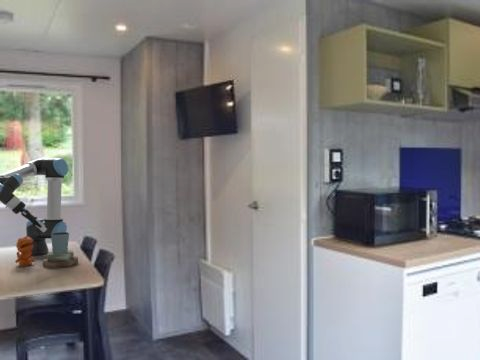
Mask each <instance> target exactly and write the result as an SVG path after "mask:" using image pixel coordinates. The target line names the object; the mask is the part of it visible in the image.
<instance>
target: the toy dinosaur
mask: <svg viewBox="0 0 480 360" xmlns="http://www.w3.org/2000/svg"><path fill="white" fill-rule="evenodd" d="M29 237H30V236H29ZM29 237H27V235H25V236H24V237H20V238H18V239H17V242H16V246H15V248H16V250H17V252H16V260H14V262H15V263H16V264H18V265H19V266H20V267H28V266H30V265H32V264H33V263H34V262H35V258H34V257H33V256H32V255H31V254H32V253H31V250H32V249H33V247H34V246H33V245H28V244H29V243H32V242H33V240H32V239H31V238H29Z"/></svg>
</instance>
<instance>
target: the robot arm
mask: <svg viewBox="0 0 480 360" xmlns="http://www.w3.org/2000/svg"><path fill="white" fill-rule="evenodd" d="M68 171H69V165H68V163H67V161H66V160H65V159H64V158H60V157H41V158H37V159H34V160H31V161H29V162H26V163H25V164H24V165H22V166H18V167H17V168H14V169H11V170H9V171H6V172H3V173H1V174H0V202H1V203H2V204H3V205H5V208H8V209H9V210H11V211H12V212H13V214H15V215H18V214H19V213H20V214H21V216H22V217H24V218H25V219H27V220H28V221H27V222H26V227H25V228H26V229H25V231H26V236H27V237H29V236H30V237H29V238H31V239H32V240H33V242H32V243H29V244H28V245H33V246H34V247H33V249H32V250H31V253H32V254H31V256H40V255H47V253H49V252H50V251H49V247H48V244H47V241H46V239H48V240H49V239H50V240H51V234H52V233H56V232H67V229H68V228H67V227H68V226H67V224H66V222H65V221H64V218H63V217H62V182H63V180H64V179H65V176H66V175H67V174H68ZM34 176H45V179H46V181H47V196H46V200H47V201H46V217H44V218H38V216H35V215H33V214H32V213H31V212H30V211H29V210H28V209H26V208H25V207H26V206H27V205H26V204H25V202H23V201H22V200H21V199H20V198H19V197H18V196H17V195H15V194H14V192H15V191H16V190H17V189H19V187H20V186H21V185H22V184H23V182H24V179H26V178H28V177H34Z"/></svg>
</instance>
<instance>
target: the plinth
mask: <svg viewBox="0 0 480 360" xmlns="http://www.w3.org/2000/svg"><path fill="white" fill-rule="evenodd" d="M74 255H75V253H74V251H73V250H69V249H68V252H67V253H65V254H53V253H52V251H49V252H48V253H46V257H47V258H44V259H42V267H44V268H47V269H65V268H70V267H74V266H77V265H78V264H79V257H78V256H74Z"/></svg>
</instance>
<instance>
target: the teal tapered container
mask: <svg viewBox="0 0 480 360" xmlns="http://www.w3.org/2000/svg"><path fill="white" fill-rule="evenodd" d="M69 239H70V233H69V232H67V231H66V232H56V233H52V234H51V239H50V240H51V247H52V251H51V252H52V253H53V254H65V253H67V252H68V250H69V249H68V248H69Z"/></svg>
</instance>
